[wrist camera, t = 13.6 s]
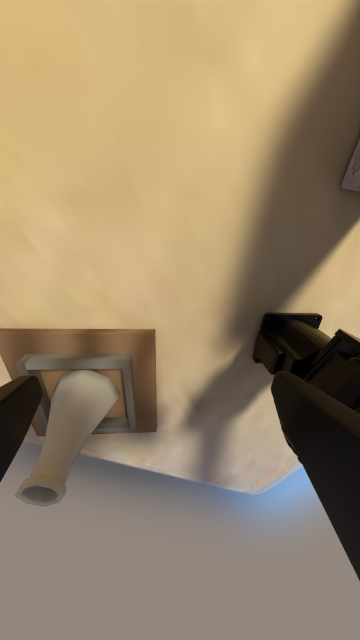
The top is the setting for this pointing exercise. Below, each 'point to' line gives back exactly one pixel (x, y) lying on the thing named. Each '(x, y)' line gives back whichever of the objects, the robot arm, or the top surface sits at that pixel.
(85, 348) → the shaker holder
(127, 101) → the top surface
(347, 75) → the top surface
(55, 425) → the flask
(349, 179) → the cake pan box
